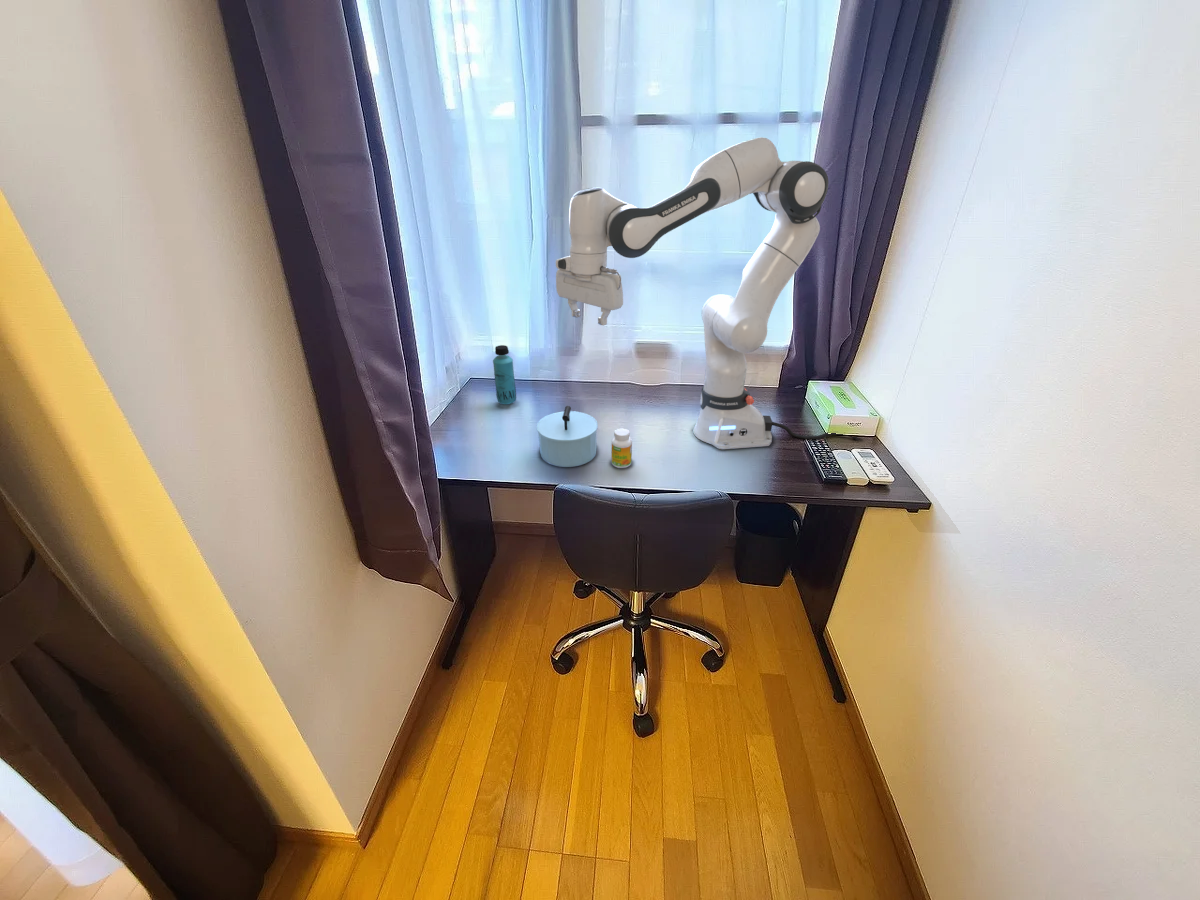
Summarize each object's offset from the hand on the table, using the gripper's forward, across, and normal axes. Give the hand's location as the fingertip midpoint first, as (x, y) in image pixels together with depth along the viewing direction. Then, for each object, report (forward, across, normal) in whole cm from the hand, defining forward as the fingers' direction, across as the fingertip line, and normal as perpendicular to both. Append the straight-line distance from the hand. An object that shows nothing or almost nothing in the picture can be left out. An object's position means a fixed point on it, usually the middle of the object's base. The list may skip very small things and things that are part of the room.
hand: (589, 320), depth 128 cm
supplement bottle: (+36, -15, +3) cm, 38 cm away
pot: (+35, 0, +9) cm, 36 cm away
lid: (+27, 0, +9) cm, 29 cm away
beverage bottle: (+36, +37, +2) cm, 52 cm away
